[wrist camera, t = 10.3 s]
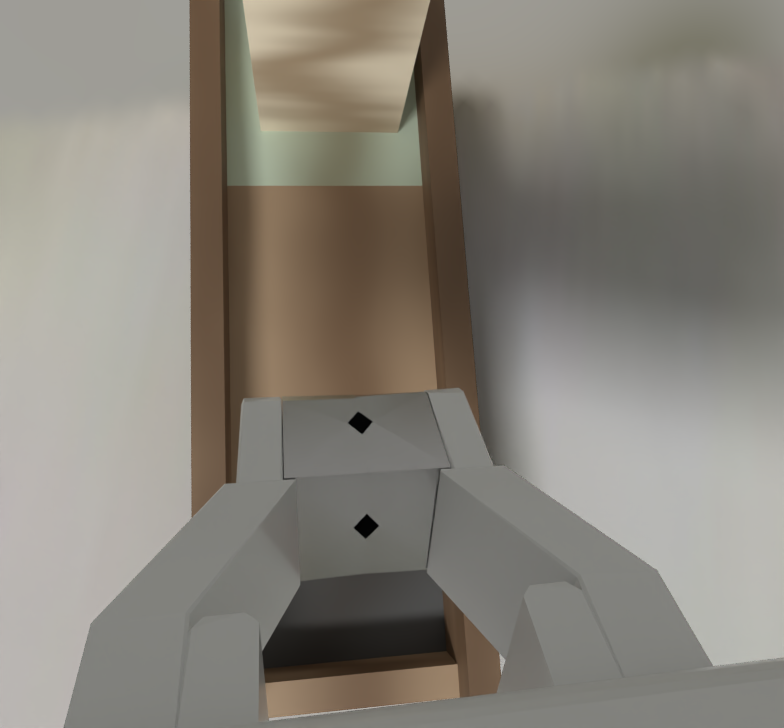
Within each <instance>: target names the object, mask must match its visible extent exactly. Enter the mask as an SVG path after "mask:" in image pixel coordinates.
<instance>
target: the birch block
mask: <svg viewBox="0 0 784 728" xmlns="http://www.w3.org/2000/svg"><path fill="white" fill-rule="evenodd" d="M429 3H430V0H243V6H244V13H245V21H246V28H247V35H248V42H249V49H250V56H251V64H252V71H253V78H254V85H255V92H256V99H257V107H258V114H259V121H260V128H261V131H298V132H380V133H398V130H399V125H400V121H401V117H402V113H403V109H404V105H405V101H406V97H407V93H408V89H409V85H410V81H411V76H412V72H413V68H414V64H415V60H416V56H417V52H418V48H419V44H420V40H421V36H422V31H423V27H424V23H425V19H426V15H427V11H428V7H429Z"/></svg>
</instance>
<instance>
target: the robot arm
mask: <svg viewBox="0 0 784 728" xmlns="http://www.w3.org/2000/svg"><path fill="white" fill-rule="evenodd" d="M415 570H427V573H428V575H429V576H430V577H431V578H432V579H433V580H434V581H435V582H436V583H437V584H438V586H439V587H440V588H441V589H442V590H443V591H444V592H445V593H446V594H447V596H448V597H449V598H450V599H451V600H452V601H453V602H454V603H455V604H456V606H457V607H458V608H459V609H460V610H461V611H462V612H463V613H464V614H465V615H466V617H467V618H468V619H469V620H470V621H471V622H472V623H473V624H474V625H475V627H476V628H477V629H478V630H479V631H480V632H481V633H482V634H483V635H484V636H485V638H486V639H487V640H488V641H489V642H490V643H491V644H492V645H493V646H494V648H495V649H496V650H497V651H498V652H499V653H500V654H501V655H502V656H503V657H504V659H505V660H506V661H505V664H504V668H503V672H502V675H501V679H500V682H499V686H498V690H497V693H494V694H486V695H478V696H470V697H462V698H453V699H445V700H437V701H429V702H421V703H413V704H404V705H396V706H388V707H380V708H372V709H363V710H355V711H347V712H339V713H331V714H323V715H314V716H306V717H298V718H290V719H282V720H273V721H269V717H268V707H267V697H266V687H265V676H264V666H263V656H262V651H263V649H264V647H265V646H266V644H267V642H268V640H269V639H270V637H271V635H272V633H273V632H274V630H275V628H276V626H277V625H278V623H279V621H280V619H281V618H282V616H283V614H284V613H285V611H286V609H287V607H288V606H289V604H290V602H291V600H292V599H293V597H294V595H295V593H296V592H297V590H298V588H299V586H300V581H306V580H315V579H323V578H332V577H340V576H349V575H357V574H368V573H383V572H399V571H415ZM64 728H784V658H777V659H768V660H760V661H752V662H744V663H736V664H728V665H720V666H713V665H712V663H711V662H710V660H709V658H708V656H707V655H706V653H705V651H704V650H703V648H702V646H701V644H700V643H699V641H698V639H697V638H696V636H695V634H694V633H693V631H692V629H691V627H690V626H689V624H688V622H687V621H686V619H685V617H684V615H683V614H682V612H681V610H680V609H679V607H678V605H677V603H676V602H675V600H674V598H673V597H672V595H671V593H670V591H669V590H668V588H667V586H666V585H665V583H664V581H663V580H662V578H661V576H660V574H659V573H658V571H657V570H656V569H654V568H653V567H651V566H650V565H649V564H647V563H646V562H644V561H643V560H641V559H640V558H638V557H637V556H636V555H634V554H633V553H631V552H630V551H628V550H627V549H625V548H624V547H622V546H621V545H620V544H618V543H617V542H615V541H614V540H612V539H611V538H609V537H608V536H606V535H605V534H604V533H602V532H601V531H599V530H598V529H596V528H595V527H593V526H592V525H590V524H589V523H588V522H586V521H585V520H583V519H582V518H580V517H579V516H577V515H576V514H575V513H573V512H572V511H570V510H569V509H567V508H566V507H564V506H563V505H561V504H560V503H559V502H557V501H556V500H554V499H553V498H551V497H550V496H548V495H547V494H545V493H544V492H543V491H541V490H540V489H538V488H537V487H535V486H534V485H532V484H531V483H529V482H528V481H527V480H525V479H524V478H522V477H521V476H519V475H518V474H516V473H515V472H514V471H512V470H511V469H509V468H508V467H506V466H505V465H501V466H494V465H493V462H492V460H491V457H490V455H489V452H488V450H487V448H486V445H485V443H484V440H483V438H482V435H481V433H480V431H479V428H478V426H477V423H476V421H475V418H474V416H473V413H472V411H471V409H470V406H469V404H468V401H467V399H466V396H465V394H464V391H462V390H461V389H460V388H449V389H435V390H424V392H406V393H387V394H368V395H321V396H282V400H281V398H280V397H261V398H244V399H243V402H242V404H241V416H240V431H239V447H238V462H237V477H236V483H230V484H224V485H223V486H222V487H221V488H220V489H219V490H218V491H217V492H216V493H215V494H214V495H213V496H212V497H211V499H210V500H209V501H208V502H207V503H206V504H205V505H204V506H203V507H202V508H201V509H200V510H199V511H198V512H197V513H196V514H195V515H194V516H193V517H192V518H191V519H190V520H189V522H188V523H187V524H186V525H185V526H184V527H183V528H182V529H181V530H180V531H179V532H178V533H177V534H176V535H175V536H174V537H173V538H172V539H171V540H170V541H169V542H168V543H167V545H166V546H165V547H164V548H163V549H162V550H161V551H160V552H159V553H158V554H157V555H156V556H155V557H154V558H153V559H152V560H151V561H150V562H149V563H148V564H147V565H146V566H145V568H144V569H143V570H142V571H141V572H140V573H139V574H138V575H137V576H136V577H135V578H134V579H133V580H132V581H131V582H130V583H129V584H128V585H127V586H126V587H125V588H124V589H123V591H122V592H121V593H120V594H119V595H118V596H117V597H116V598H115V599H114V600H113V601H112V602H111V603H110V604H109V605H108V606H107V607H106V608H105V609H104V610H103V611H102V612H101V614H100V615H99V616H98V617H97V618H96V619H95V620H94V621H93V622H92V623H91V625H90V629H89V633H88V637H87V641H86V644H85V648H84V652H83V656H82V660H81V663H80V667H79V671H78V675H77V679H76V683H75V686H74V690H73V694H72V698H71V702H70V705H69V709H68V713H67V717H66V721H65V724H64Z"/></svg>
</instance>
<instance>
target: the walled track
mask: <svg viewBox="0 0 784 728" xmlns="http://www.w3.org/2000/svg"><path fill="white" fill-rule="evenodd" d="M449 67H450V66H449V55H448V43H447V31H446V19H445V8H444V0H430V3H429V7H428V11H427V15H426V19H425V23H424V27H423V31H422V36H421V40H420V44H419V48H418V52H417V56H416V60H415V64H414V68H413V72H412V76H411V81H410V85H409V89H408V93H407V97H406V101H405V105H404V109H403V113H402V117H401V121H400V125H399V130H398V133H380V132H298V131H261V128H260V121H259V114H258V107H257V99H256V92H255V85H254V78H253V71H252V64H251V56H250V49H249V42H248V35H247V28H246V21H245V13H244V6H243V0H190V218H191V477H192V517H193V516H194V515H195V514H196V513H197V512H198V511H199V510H200V509H201V508H202V507H203V506H204V505H205V504H206V503H207V502H208V501H209V500H210V499H211V497H212V496H213V495H214V494H215V493H216V492H217V491H218V490H219V489H220V488H221V487H222V486H223V485H224V484H230V483H236V477H237V462H238V447H239V431H240V416H241V404H242V402H243V399H244V398H261V397H280V398H281V400H282V396H321V395H368V394H387V393H406V392H424V390H435V389H449V388H460V389H461V390H462V391H464V394H465V396H466V399H467V401H468V404H469V406H470V409H471V411H472V413H473V416H474V418H475V421H476V423H477V426H478V428H479V431H480V421H479V409H478V397H477V385H476V374H475V362H474V350H473V338H472V326H471V315H470V303H469V291H468V279H467V267H466V255H465V244H464V232H463V220H462V208H461V196H460V184H459V173H458V161H457V149H456V137H455V125H454V114H453V102H452V90H451V78H450V68H449ZM262 656H263V666H264V676H265V687H266V697H267V707H268V717H269V718H273V717H282V716H292V715H301V714H310V713H320V712H329V711H339V710H348V709H357V708H367V707H376V706H386V705H395V704H404V703H414V702H423V701H433V700H442V699H451V698H462V697H470V696H478V695H486V694H494V693H497V690H498V686H499V682H500V679H501V669H500V657H499V652H498V651H497V650H496V649H495V648H494V646H493V645H492V644H491V643H490V642H489V641H488V640H487V639H486V638H485V636H484V635H483V634H482V633H481V632H480V631H479V630H478V629H477V628H476V627H475V625H474V624H473V623H472V622H471V621H470V620H469V619H468V618H467V617H466V615H465V614H464V613H463V612H462V611H461V610H460V609H459V608H458V607H457V606H456V604H455V603H454V602H453V601H452V600H451V599H450V598H449V597H448V596H447V594H446V593H445V592H444V591H443V590H442V589H441V588H440V587H439V586H438V584H437V583H436V582H435V581H434V580H433V579H432V578H431V577H430V576H429V575H428V573H427V570H415V571H399V572H383V573H368V574H357V575H349V576H340V577H332V578H323V579H315V580H306V581H300V586H299V588H298V590H297V592H296V593H295V595H294V597H293V599H292V600H291V602H290V604H289V606H288V607H287V609H286V611H285V613H284V614H283V616H282V618H281V619H280V621H279V623H278V625H277V626H276V628H275V630H274V632H273V633H272V635H271V637H270V639H269V640H268V642H267V644H266V646H265V647H264V649H263V651H262Z"/></svg>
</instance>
